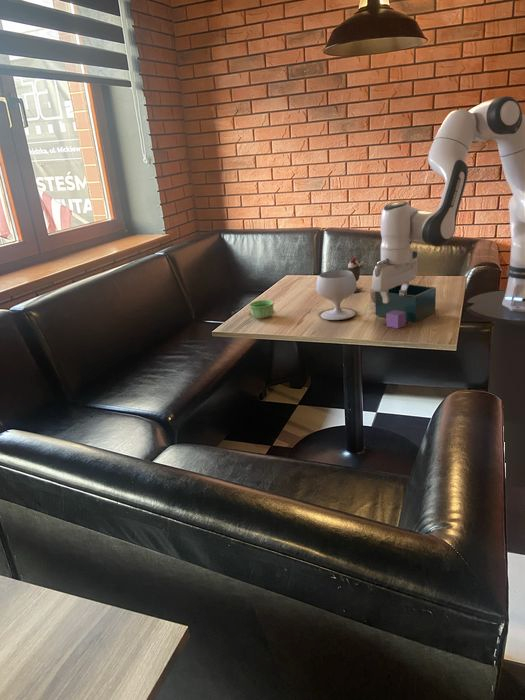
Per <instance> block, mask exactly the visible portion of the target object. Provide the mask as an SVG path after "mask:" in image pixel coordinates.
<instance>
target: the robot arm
mask: <svg viewBox="0 0 525 700" xmlns="http://www.w3.org/2000/svg"><path fill="white" fill-rule="evenodd" d="M491 139H493V140H494V141H495V142H496V144H497V150H498V154H499V159H500V162H501V166H502V170H503V174H504V177H505V181H506V183H507V184H508V187H509V189H510V191H511V193H512V195H511V197H510V198H509V200H508V203H507V204H508V206H507V207H508V212H509V229H510V257H509V258H510V259H509V264H508V265H507V266H508V267H507V273H506V274H507V284H506V289H505V290H506V293H505V296H504V299H503V302H502V305H503V306H505V307H507V308H509V309H510V310H511V311H517V312H525V114H524V113H523V111H522V107H521V105H520V103H519V101H517V100H516V99H515V98H514V97H512V96H508V95H507V96H499V97H496V98H492V99H489V100H486V101H483V102H480V103H479V104H478V105H476V106H474V107H470V108H468V109H455V110H452V111H450V112H449V113H448V115H446V117H445V119H444V120H443V122H442V124H441V125H440V127H439V129H438V131H437V133H436V135H435V137H434V139H433V141H432V144H431V145H430V147H429V151H428V155H427V161H428V165H429V167H430V168H431V170H432V171H433V172H434V173H435V174H437V175H438V176H440V177H441V178H443V179H444V182H445V183H444V187H443V191H442V194H441V197H440V202H439V205H438V207H437V208H436V209H435V210H433V211H432V210H425V209H424V210H422V209H418V208H415V207H413V206H412V205H410V204H409V202H408V201H405V200H397V201H393V202H390V203H387V204H386V205H384V206H383V208H382V211H381V215H380V236H381V243H380V261H378V262H376V265H375V266H374V268H373V272H372V280H371V281H372V282H371V288H372V289H373V290H374V291H376V292H380V294H381V296H382V297H383V303H389V302H390V297H388V294H387V293H388V290H389V289H391V288H394V287H396V286H399V285H401V284H402V287H401V290H400V291H399V293H400V294H399V295H400V296H405V295H406V294H407V288H408V286H409V284H410V282H411V281H414V280H415V279H416V278H417V276H418V265H419V264H418V258H419V251H418V250H416V249H411V245H410V241H412V242H415V243H420V244H427V245H429V246H434V247H436V248H437V247H438V248H439V247H442V246H445V245H446V244H447V243H448V242H450V240H451V239H452V238H453V237H454V234H455V233H456V225H457V218H458V214H459V210H460V206H461V203H462V200H463V195H464V192H465V189H466V185H467V180H468V176H469V167H468V164H467V163H466V161H467V157H468V153H469V151H470V149H471V146H472V143H473V144H475V143H478V142H483V141H488V140H491Z"/></svg>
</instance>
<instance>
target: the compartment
mask: <svg viewBox="0 0 525 700" xmlns="http://www.w3.org/2000/svg"><path fill="white" fill-rule="evenodd" d="M401 287H402V284H401V285H399V286H396V287H394V288H391V289H389V290H388V293H387V294H388V297H390V302H389V303H383V297H382V296H381V294H380V292H376V291H375V302H376V304H375V316H378V317H383V318H386V313H388V312H391V311H393V310H397V311H403V312H406V322H411V323H418V322H420V321H422V320H424V319H426V318H428V317H429V316H431V315H433V314H435V313H436V302H437V301H436V299H437V287H434V286H428V285H420V284H411V283H409V286H408V288H407V294H406V295H405V296H400V295H399V294H400V293H399V291H400V290H401Z"/></svg>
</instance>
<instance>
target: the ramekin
mask: <svg viewBox="0 0 525 700" xmlns="http://www.w3.org/2000/svg"><path fill="white" fill-rule="evenodd" d="M248 305H249V309H250V313H251V316H252V317H253V318H257V319H260V318H262V319H263V318H267V317H270V316H272V315H274V301H273V300H272V299H271V300H269V299H261V300H256V301H255V300H254V301H252V302H250V303H249V304H248Z"/></svg>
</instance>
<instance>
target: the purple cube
mask: <svg viewBox="0 0 525 700" xmlns="http://www.w3.org/2000/svg"><path fill="white" fill-rule="evenodd" d="M385 318H386V319H385V322H386V327H388V328H394V329H400V328H402V327H404V326H406V322H407V321H406V312H403V311H397V310H393V311H391V312H388V313H386V317H385Z"/></svg>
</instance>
